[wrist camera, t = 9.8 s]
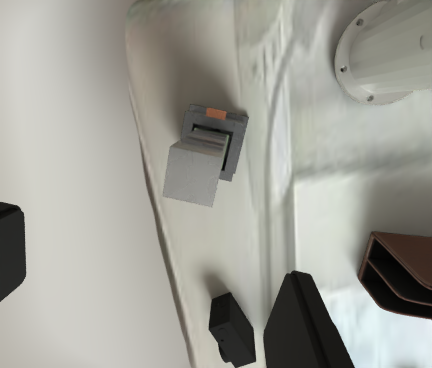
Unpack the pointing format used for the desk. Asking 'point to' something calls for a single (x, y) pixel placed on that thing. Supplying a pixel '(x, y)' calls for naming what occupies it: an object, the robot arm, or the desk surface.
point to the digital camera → (232, 331)
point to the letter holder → (399, 273)
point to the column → (195, 167)
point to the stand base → (222, 124)
